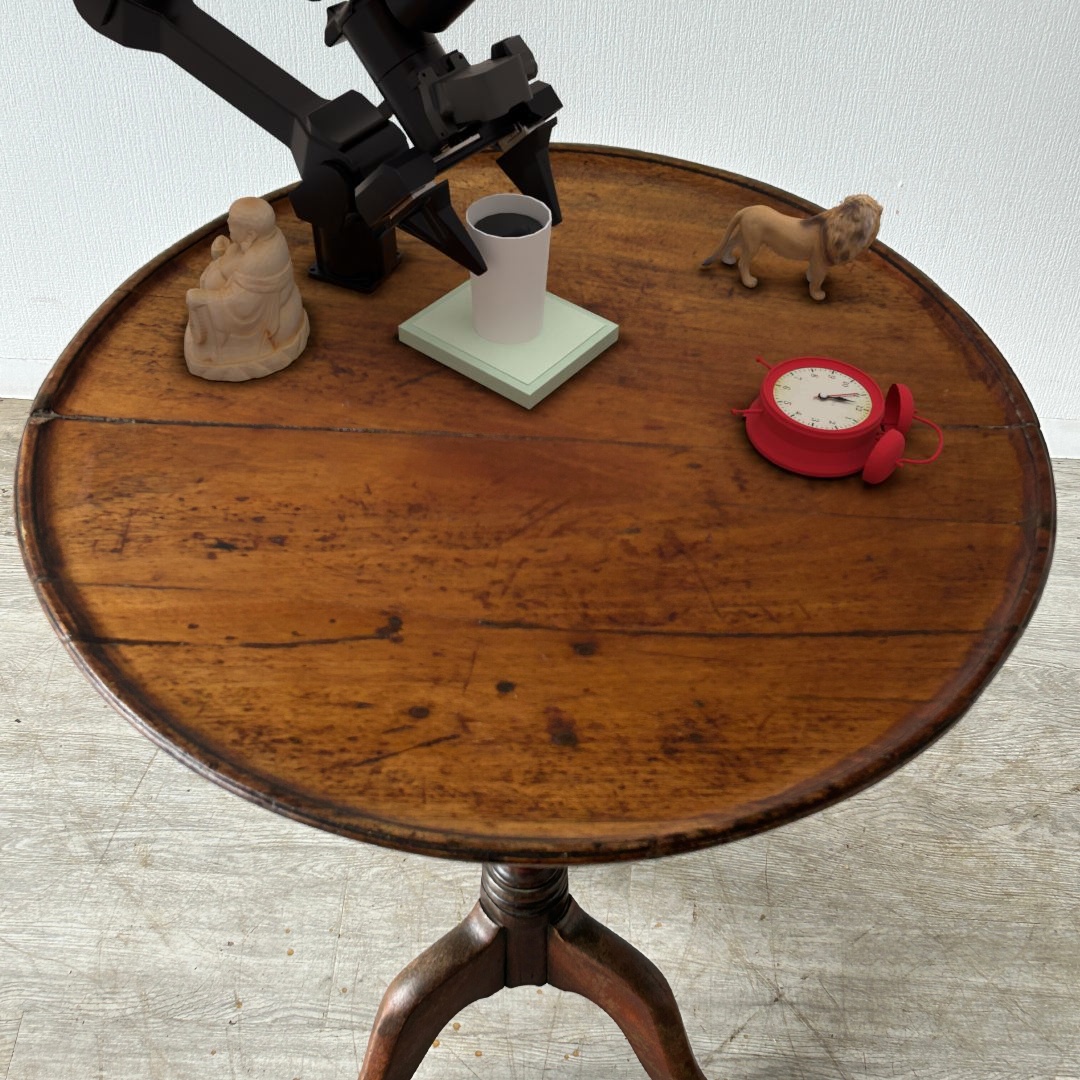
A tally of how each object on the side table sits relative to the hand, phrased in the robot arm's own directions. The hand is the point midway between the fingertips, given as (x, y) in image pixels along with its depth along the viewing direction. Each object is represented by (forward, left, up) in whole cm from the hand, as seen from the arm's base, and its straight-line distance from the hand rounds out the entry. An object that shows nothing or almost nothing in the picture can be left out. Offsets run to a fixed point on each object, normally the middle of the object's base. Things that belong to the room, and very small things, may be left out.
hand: (521, 248), depth 87 cm
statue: (-21, -9, -9) cm, 25 cm away
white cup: (-1, 0, -8) cm, 8 cm away
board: (-1, 0, -9) cm, 9 cm away
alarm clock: (+27, -1, -9) cm, 28 cm away
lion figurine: (+18, +19, -9) cm, 28 cm away
